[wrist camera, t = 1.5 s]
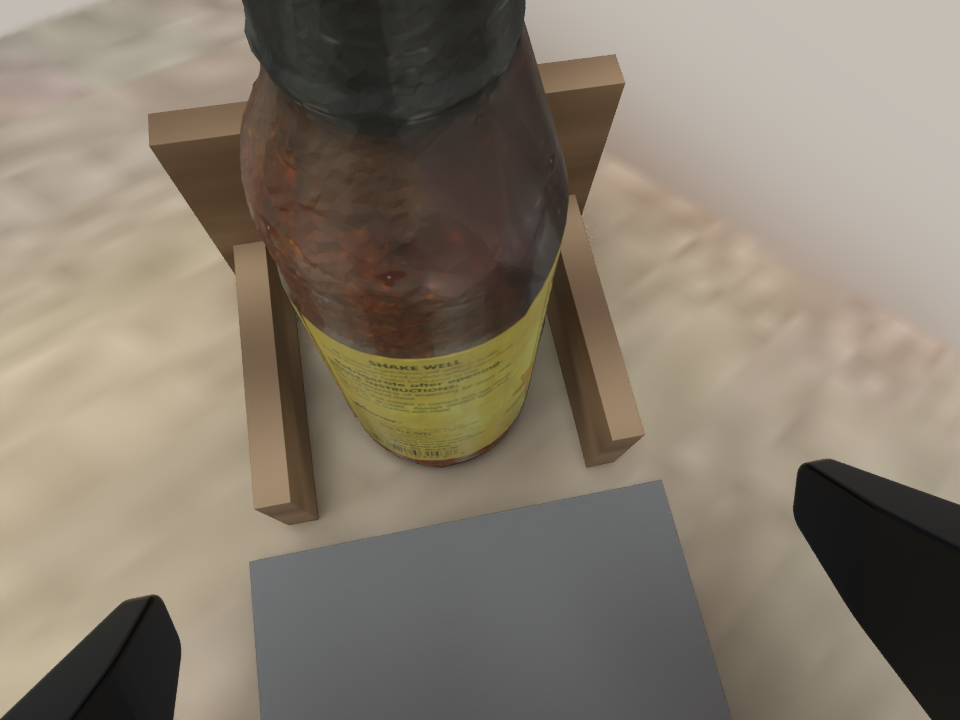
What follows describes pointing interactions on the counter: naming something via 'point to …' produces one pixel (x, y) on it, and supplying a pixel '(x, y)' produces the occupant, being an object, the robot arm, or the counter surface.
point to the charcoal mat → (492, 620)
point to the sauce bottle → (409, 206)
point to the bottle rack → (271, 316)
